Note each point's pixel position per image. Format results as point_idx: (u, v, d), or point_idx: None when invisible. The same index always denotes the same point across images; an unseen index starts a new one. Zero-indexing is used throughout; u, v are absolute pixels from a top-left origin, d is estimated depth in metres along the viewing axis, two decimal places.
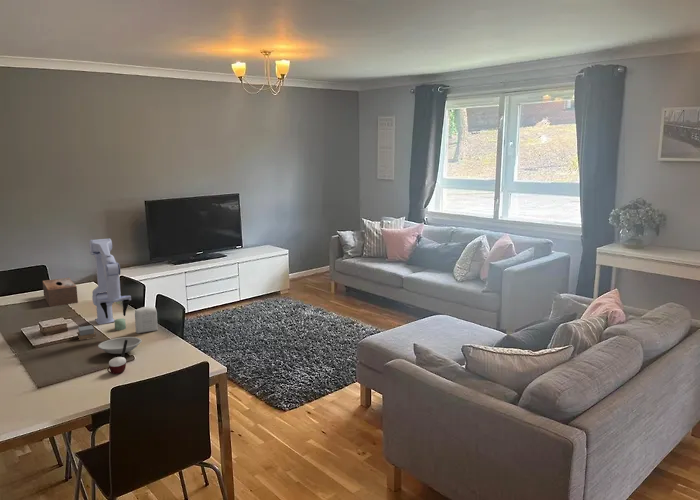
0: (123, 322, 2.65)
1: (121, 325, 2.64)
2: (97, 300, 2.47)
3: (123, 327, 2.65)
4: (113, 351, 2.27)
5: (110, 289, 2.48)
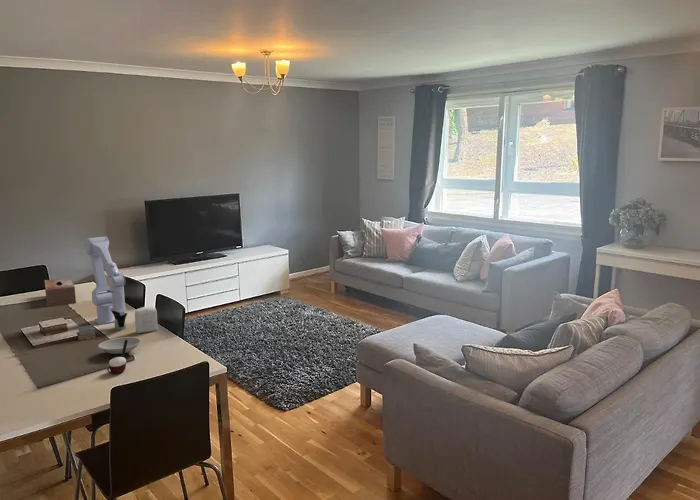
0: None
1: None
2: None
3: (123, 327, 2.65)
4: (113, 351, 2.27)
5: (116, 299, 2.61)
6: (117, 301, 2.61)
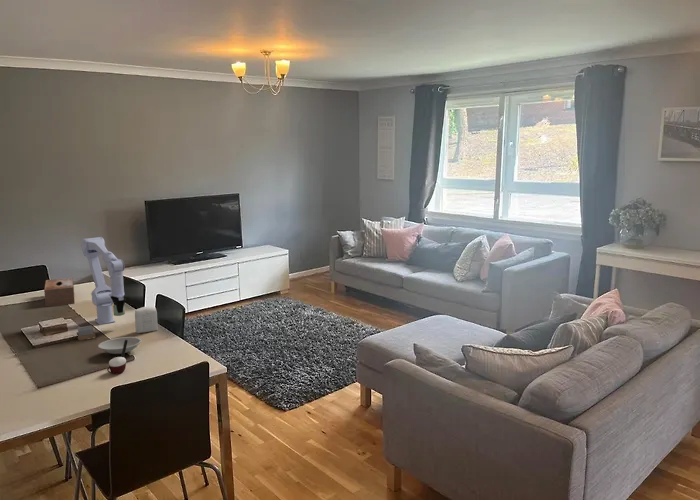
0: None
1: None
2: None
3: (122, 312, 2.63)
4: (113, 351, 2.27)
5: (115, 285, 2.59)
6: (116, 286, 2.59)
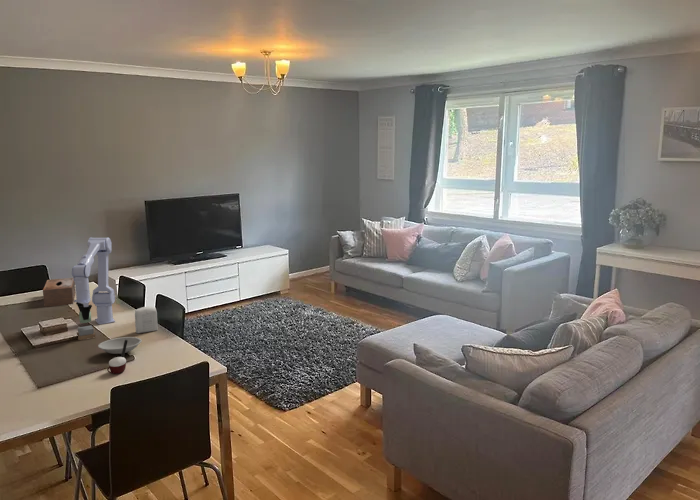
0: None
1: None
2: None
3: (88, 319, 2.51)
4: (113, 351, 2.27)
5: (76, 290, 2.47)
6: (81, 292, 2.47)
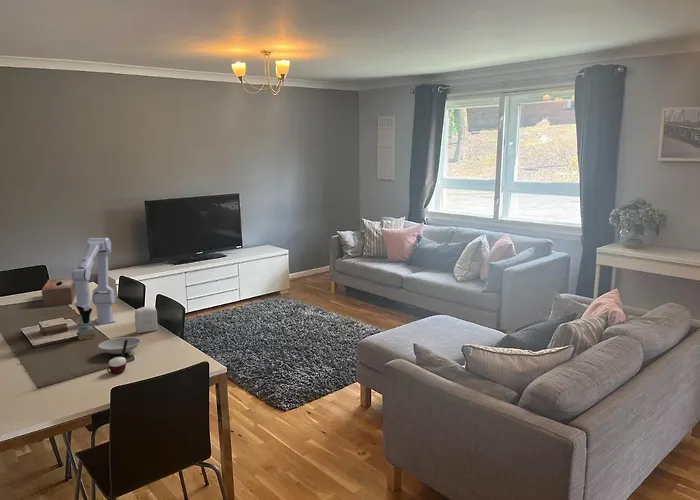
0: None
1: None
2: None
3: (88, 323, 2.52)
4: (113, 351, 2.27)
5: (76, 294, 2.48)
6: (81, 296, 2.48)
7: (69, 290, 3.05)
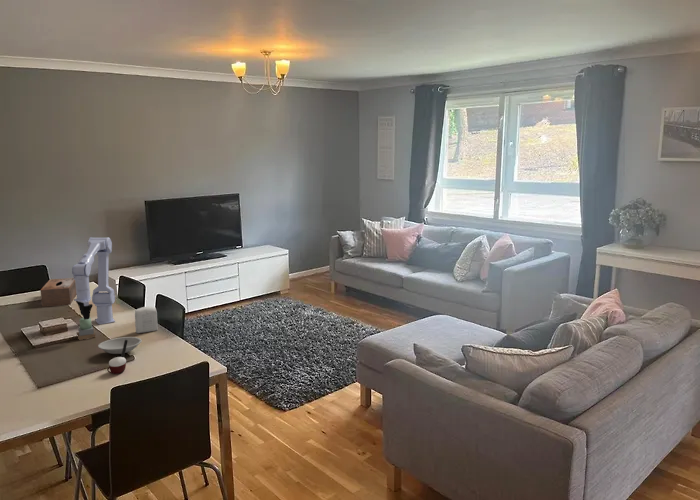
0: (89, 321, 2.52)
1: (87, 324, 2.51)
2: None
3: (89, 326, 2.52)
4: (113, 351, 2.27)
5: (76, 289, 2.48)
6: (81, 291, 2.47)
7: (68, 290, 3.05)
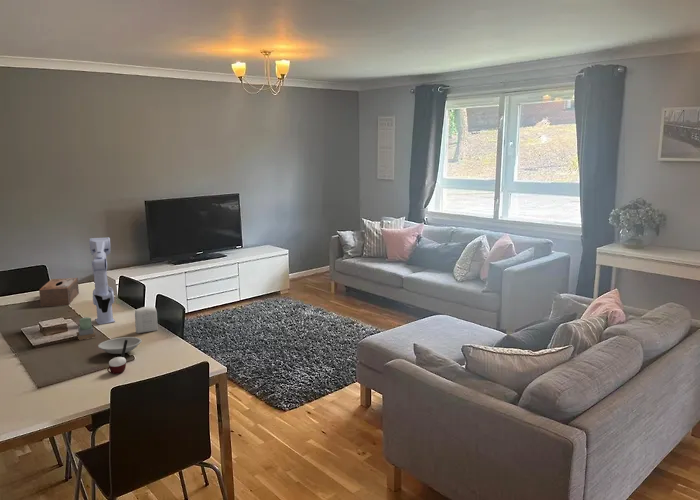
0: (89, 321, 2.52)
1: (87, 324, 2.51)
2: None
3: (89, 326, 2.52)
4: (113, 351, 2.27)
5: (96, 283, 2.56)
6: (100, 285, 2.56)
7: (66, 291, 3.04)
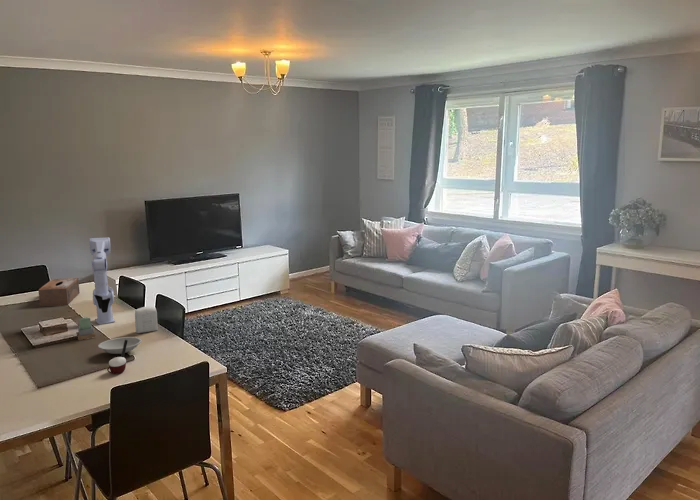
0: (88, 321, 2.52)
1: (86, 324, 2.51)
2: None
3: (88, 326, 2.52)
4: (113, 351, 2.27)
5: (96, 283, 2.56)
6: (100, 285, 2.56)
7: (65, 291, 3.04)
